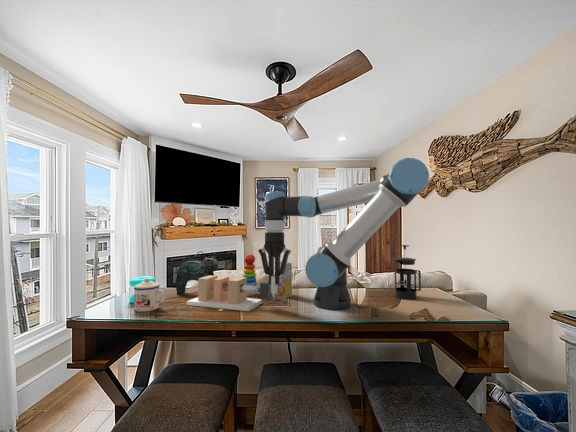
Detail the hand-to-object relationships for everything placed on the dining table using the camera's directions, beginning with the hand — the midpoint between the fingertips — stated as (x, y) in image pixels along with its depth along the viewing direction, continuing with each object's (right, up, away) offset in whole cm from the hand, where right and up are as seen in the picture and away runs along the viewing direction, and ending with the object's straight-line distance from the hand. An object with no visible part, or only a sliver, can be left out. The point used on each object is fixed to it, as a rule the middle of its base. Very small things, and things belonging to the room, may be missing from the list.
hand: (274, 292), depth 113 cm
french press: (+58, -7, +17) cm, 61 cm away
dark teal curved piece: (-38, -7, +25) cm, 46 cm away
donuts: (-57, -7, +12) cm, 59 cm away
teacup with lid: (-48, -7, +1) cm, 49 cm away
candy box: (+3, -7, +21) cm, 22 cm away
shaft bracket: (-21, -6, +7) cm, 23 cm away
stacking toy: (-13, -7, +23) cm, 28 cm away
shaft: (-12, -2, +4) cm, 13 cm away
